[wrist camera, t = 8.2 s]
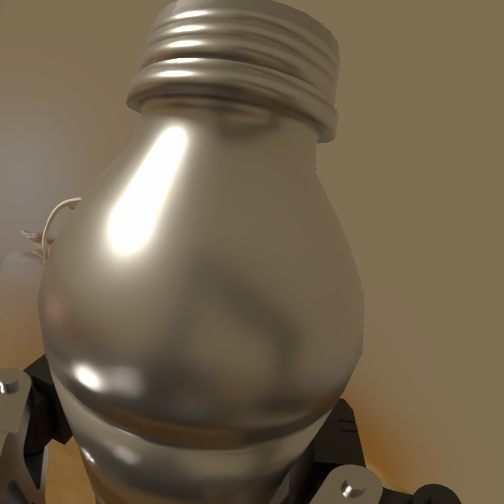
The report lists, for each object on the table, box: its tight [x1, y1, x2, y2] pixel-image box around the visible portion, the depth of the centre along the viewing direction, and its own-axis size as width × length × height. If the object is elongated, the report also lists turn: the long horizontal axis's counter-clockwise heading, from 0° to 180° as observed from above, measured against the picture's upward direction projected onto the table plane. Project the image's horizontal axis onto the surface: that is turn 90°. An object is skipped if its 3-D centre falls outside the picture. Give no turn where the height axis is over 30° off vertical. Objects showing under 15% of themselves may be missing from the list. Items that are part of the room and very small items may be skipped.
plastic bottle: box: [37, 0, 364, 504], centre depth 7 cm, size 6×7×20 cm
